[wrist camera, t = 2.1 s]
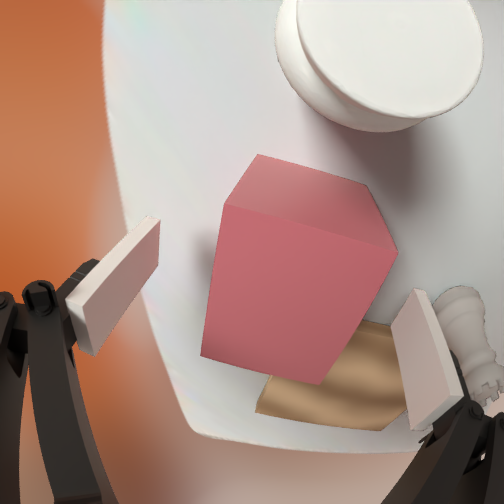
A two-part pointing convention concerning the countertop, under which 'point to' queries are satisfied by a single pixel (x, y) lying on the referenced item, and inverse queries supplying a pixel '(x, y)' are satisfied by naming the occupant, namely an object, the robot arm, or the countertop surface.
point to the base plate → (345, 386)
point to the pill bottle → (380, 58)
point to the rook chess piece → (470, 341)
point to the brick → (293, 270)
